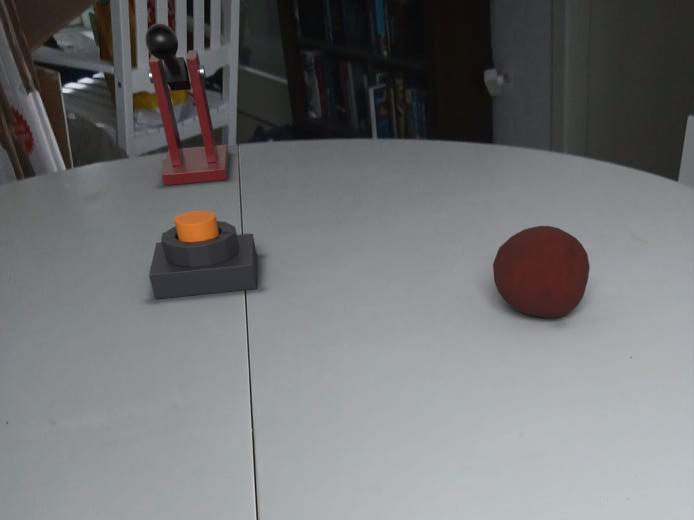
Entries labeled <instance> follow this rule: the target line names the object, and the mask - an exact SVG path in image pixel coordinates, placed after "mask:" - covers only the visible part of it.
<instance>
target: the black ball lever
mask: <svg viewBox="0 0 694 520" xmlns="http://www.w3.org/2000/svg"><path fill="white" fill-rule="evenodd" d="M144 38H145V39H144V40H145V45H146V48H147V50H148V52H149V53H150V54H151V55H153V56H154V57H156V58H158V59H160V60H163V65H164V69H165V74H166V80H167V83H168V87H169V90H170V91H171V92H177V91H178V92H179V91H188V90H192V85H191V80H190V75H189V70H188V66H187V61H186V60H185V58H184V56H178V57H177V56H176V54H177V53H178V50H179V39H178V37H177V35H176V32H175V31H174V30H173V29H172V28H171V27H170V26H169V25H167V24H164V23H155V24H154V23H153V24H152V25H151V26H149V27H148V29H147V30H146V33H145V37H144Z"/></svg>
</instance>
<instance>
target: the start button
mask: <svg viewBox="0 0 694 520" xmlns="http://www.w3.org/2000/svg"><path fill="white" fill-rule="evenodd" d="M217 221H218V220H217V217H216V213H214V212H212V211H210V210H192V211H188V212H183V213H180V214H179V215H177V216H176V217H175V218H174V225H175V226H176V230H177V234H178V238H179V241H184V242H196V241H205V240H208V239H212V238H215V237H216V236H218V235H219V230H218V226H217Z"/></svg>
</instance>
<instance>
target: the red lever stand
mask: <svg viewBox="0 0 694 520" xmlns="http://www.w3.org/2000/svg"><path fill="white" fill-rule="evenodd" d="M185 62H186V64H187V67H188V73H189V79H190V85H191V90H192V93H193V99H194V103H195V108H196V114H197V118H198V123H199V127H200V132H201V137H202V142H203V146H194V147H184V148H183V147H182V146H183V145H182V142H181V137H180V132H179V128H178V124H177V119H176V114H175V109H174V106H173V101H172V97H171V92H170V87H169V85H168V83H167V80H166V74H165V68H164V62H163V60H160V59H158V58H156V57H154V56H153V55H152V54H151V55H150V58H149V60H148V67H149V68H148V69H147V71H148V72H147V73H148V78H149V82H150V84H153V88H154V92H155V95H156V96H155V97H156V101H157V105H158V109H159V115H160V118H161V122H162V126H163V131H164V134H165V140H166V144H167V148H168V150H167V153H166V157H165V161H164V166H163V171H162V174H161V177H162V181H163V184H164V186H175V185H186V184H197V183H208V182H218V181H220V182H221V181H227V180H228V167H229V158H230V157H229V155H230V153H229V148H228V145H227V144H217V141H216V136H215V131H214V127H213V126H214V125H213V121H212V117H211V112H210V107H209V101H208V97H207V92H206V87H205V81H204V80H206V79H207V75H206V69H205V65H203V64H201V62H200V57H199V52H198V49H193V50H188V52H187V55H186V60H185Z"/></svg>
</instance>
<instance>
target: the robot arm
mask: <svg viewBox="0 0 694 520" xmlns="http://www.w3.org/2000/svg"><path fill="white" fill-rule="evenodd" d="M98 1H99V4H100V6H101V7H103V6H108V4H110V2H111V0H98Z"/></svg>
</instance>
